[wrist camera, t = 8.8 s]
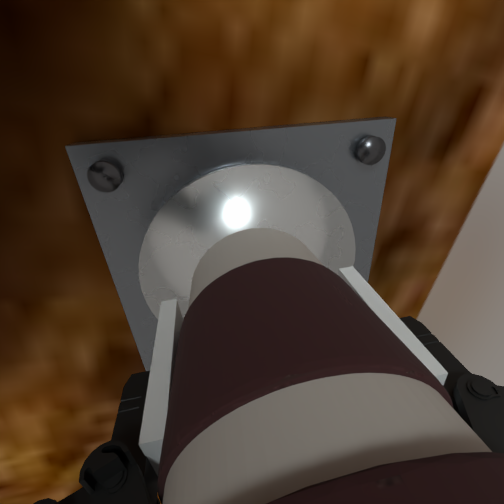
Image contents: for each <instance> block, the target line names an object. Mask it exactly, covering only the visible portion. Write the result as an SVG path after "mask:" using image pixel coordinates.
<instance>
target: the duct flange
mask: <svg viewBox="0 0 504 504" xmlns="http://www.w3.org/2000/svg"><path fill="white" fill-rule="evenodd" d="M395 124H396V118H391V117H376V118H364V119H352V120H340V121H328V122H316V123H304V124H292V125H280V126H268V127H256V128H244V129H232V130H220V131H208V132H196V133H184V134H172V135H160V136H148V137H136V138H124V139H112V140H100V141H88V142H76V143H71V144H69V145H67V146H65V148H66V151H67V153H68V156H69V159H70V162H71V165H72V167H73V170H74V173H75V176H76V178H77V181H78V184H79V187H80V189H81V192H82V195H83V198H84V201H85V203H86V206H87V209H88V212H89V214H90V217H91V220H92V223H93V226H94V228H95V231H96V234H97V237H98V239H99V242H100V245H101V248H102V250H103V253H104V256H105V259H106V262H107V264H108V267H109V270H110V273H111V275H112V278H113V281H114V284H115V286H116V289H117V292H118V295H119V298H120V300H121V303H122V306H123V309H124V311H125V314H126V317H127V320H128V323H129V325H130V328H131V331H132V334H133V336H134V339H135V342H136V345H137V347H138V350H139V353H140V356H141V359H142V361H143V364H144V367H145V370H146V371H150V369H151V362H152V356H153V350H154V343H155V337H156V331H157V324H158V318H159V312H160V305H161V301H167V300H172V299H177V301H178V304H179V308H180V311H181V314H182V318H183V319H184V316H185V314H186V312H187V310H188V306H189V299H190V291H191V284H192V278H193V274H194V271H195V269H196V267H197V265H198V263H199V261H200V259H201V258H202V257H203V256H204V254H205V253H206V252H207V251H208V250H209V249H210V248H211V247H212V246H213V245H214V244H215V243H216V242H218V241H220V240H221V239H223V238H225V237H226V236H228V235H231V234H233V233H236V232H238V231H242V230H246V229H251V228H270V229H276V230H279V231H283V232H286V233H288V234H290V235H292V236H294V237H296V238H297V239H299V240H300V241H301V242H302V243H303V244H305V246H306V247H307V248H308V249H309V250H310V251H311V252H312V253H313V254H314V255H315V257H316V258H317V259H318V260H319V261H320V262H321V263H322V264H323V265H324V266H325V267H327V268H328V269H330V270H332V271H333V272H335V273H336V274H337V275H338V271H339V269H340V268H345V267H351V266H353V267H354V268H355V269H356V271H357V272H358V273H359V274H360V275H361V276H362V277H363V278H364V279H365V281H366V282H367V283H368V278H369V273H370V267H371V261H372V255H373V250H374V244H375V238H376V233H377V227H378V221H379V215H380V210H381V204H382V198H383V192H384V187H385V181H386V175H387V170H388V164H389V158H390V152H391V147H392V141H393V135H394V129H395Z"/></svg>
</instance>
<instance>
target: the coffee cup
mask: <svg viewBox="0 0 504 504" xmlns="http://www.w3.org/2000/svg"><path fill="white" fill-rule="evenodd" d="M157 487H158V495H159V498H160V501H161V503H162V504H504V453H495V452H492V451H491V450H490V449H489V448H488V447H487V445H486V444H485V443H484V442H483V441H482V440H481V439H480V438H479V437H478V435H477V434H476V433H475V432H474V431H473V430H472V429H471V428H470V427H469V426H468V424H467V423H466V422H465V421H464V420H463V419H462V418H461V417H460V416H459V415H458V413H457V412H456V411H455V410H454V409H453V404H452V400H451V398H450V396H449V394H448V392H447V391H446V389H445V388H444V387H443V385H442V384H441V383H440V382H439V380H438V379H437V378H436V377H435V376H434V375H433V374H432V373H431V372H430V370H429V369H428V368H427V367H426V366H425V365H424V364H423V363H422V362H421V361H420V360H419V359H418V358H417V357H416V356H415V355H414V354H413V353H412V352H411V350H410V349H409V348H408V347H407V346H406V345H405V344H404V343H403V342H402V341H401V340H400V339H399V338H398V337H397V336H396V335H395V334H394V333H393V332H392V330H391V329H390V328H389V327H388V326H387V325H386V324H385V323H384V322H383V321H382V320H381V319H380V318H379V317H378V316H377V315H376V314H375V313H374V312H373V310H372V309H371V308H370V307H369V306H368V305H367V304H366V303H365V302H364V301H363V300H362V299H361V298H360V297H359V296H358V295H357V294H356V293H355V292H354V290H353V289H352V288H351V287H350V286H349V285H348V284H347V283H346V282H345V281H344V280H343V279H342V278H341V277H340V276H338V275H337V274H336V273H335V272H333V271H332V270H330V269H328V268H327V267H325V266H324V265H323V264H322V263H321V262H320V261H319V260H318V259H317V258H316V257H315V255H314V254H313V253H312V252H311V251H310V250H309V249H308V248H307V247H306V246H305V244H303V243H302V242H301V241H300V240H299V239H297V238H296V237H294V236H292V235H290V234H288V233H286V232H283V231H279V230H276V229H270V228H251V229H246V230H242V231H238V232H236V233H233V234H231V235H228V236H226V237H225V238H223V239H221V240H220V241H218V242H216V243H215V244H214V245H213V246H212V247H211V248H210V249H209V250H208V251H207V252H206V253H205V254H204V256H203V257H202V258H201V259H200V261H199V263H198V265H197V267H196V269H195V271H194V274H193V278H192V284H191V291H190V299H189V306H188V310H187V312H186V314H185V316H184V319H183V322H182V325H181V330H180V335H179V341H178V348H177V354H176V360H175V367H174V373H173V380H172V386H171V392H170V399H169V405H168V412H167V418H166V425H165V431H164V437H163V443H162V450H161V456H160V463H159V471H158V481H157Z"/></svg>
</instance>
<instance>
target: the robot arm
mask: <svg viewBox="0 0 504 504" xmlns="http://www.w3.org/2000/svg"><path fill="white" fill-rule="evenodd" d="M338 276H340V277H341V278H342V279H343V280H344V281H345V282H346V283H347V284H348V285H349V286H350V287H351V288H352V289H353V290H354V292H355V293H356V294H357V295H358V296H359V297H360V298H361V299H362V300H363V301H364V302H365V303H366V304H367V305H368V306H369V307H370V308H371V309H372V310H373V312H374V313H375V314H376V315H377V316H378V317H379V318H380V319H381V320H382V321H383V322H384V323H385V324H386V325H387V326H388V327H389V328H390V329H391V330H392V332H393V333H394V334H395V335H396V336H397V337H398V338H399V339H400V340H401V341H402V342H403V343H404V344H405V345H406V346H407V347H408V348H409V349H410V350H411V352H412V353H413V354H414V355H415V356H416V357H417V358H418V359H419V360H420V361H421V362H422V363H423V364H424V365H425V366H426V367H427V368H428V369H429V370H430V372H431V373H432V374H433V375H434V376H435V377H436V378H437V379H438V380H439V382H440V383H441V384H442V385H443V387H444V388H445V389H446V391H447V392H448V394H449V396H450V398H451V400H452V404H453V409H454V410H455V411H456V412H457V413H458V415H459V416H460V417H461V418H462V419H463V420H464V421H465V422H466V423H467V424H468V426H469V427H470V428H471V429H472V430H473V431H474V432H475V433H476V434H477V435H478V437H479V438H480V439H481V440H482V441H483V442H484V443H485V444H486V445H487V447H488V448H489V449H490V450H491V451H492V452H495V453H504V386H497V385H495V384H494V383H493V382H491V381H490V380H488V379H486V378H484V377H482V376H479V375H475V374H472V373H470V372H469V371H468V370H467V369H466V368H465V367H464V366H463V365H462V364H461V363H460V362H459V361H458V360H457V359H456V358H455V357H454V356H453V355H452V354H451V352H450V351H449V350H448V349H447V348H446V347H445V346H444V345H443V344H442V343H441V342H439V341H438V339H437V338H436V337H435V336H434V335H432V334H431V332H430V331H429V330H428V329H427V328H426V327H425V326H424V325H423V324H422V323H421V322H419V321H417V320H416V319H414V318H412V317H411V316H408V317H403V318H399V317H398V316H397V315H396V314H395V313H394V312H393V311H392V310H391V309H390V307H389V306H388V305H387V304H386V303H385V302H384V301H383V300H382V298H381V297H380V296H379V295H378V294H377V293H376V292H375V291H374V290H373V288H372V287H371V286H370V285H369V284H368V283H367V282H366V281H365V279H364V278H363V277H362V276H361V275H360V274H359V273H358V272H357V271H356V269H355V268H354V267H353V266H351V267H345V268H340V269H339V271H338ZM182 322H183V318H182V314H181V311H180V308H179V304H178V301H177V299H172V300H167V301H161V305H160V312H159V318H158V324H157V331H156V337H155V343H154V350H153V356H152V362H151V369H150V371H146V372H141V373H136V374H132V375H131V377H130V378H129V380H128V381H127V383H126V384H125V386H124V388H123V393H122V397H121V403H120V405H119V409H118V414H117V418H116V422H115V426H114V430H113V435H112V439H111V441H109V442H106V443H104V444H102V445H100V446H99V447H98V448H96V449H95V450H94V451H93V452H92V453H91V454H90V455H89V456H88V458H87V459H86V460H85V462H84V464H83V466H82V468H81V471H80V477H79V483H80V484H81V485H82V486H83V488H81V489H79V490H78V491H76V492H74V493H73V494H71V495H69V496H67V497H66V498H64V499H62V500H61V501H59V502H57V501H56V500H52V499H49V498H47V499H43V500H39V501H37V502H35V503H34V504H160V501H159V499H158V497H157V493H158V487H157V481H158V471H159V463H160V456H161V450H162V443H163V437H164V431H165V425H166V418H167V412H168V405H169V399H170V392H171V386H172V380H173V373H174V367H175V360H176V354H177V348H178V341H179V335H180V330H181V325H182Z"/></svg>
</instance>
